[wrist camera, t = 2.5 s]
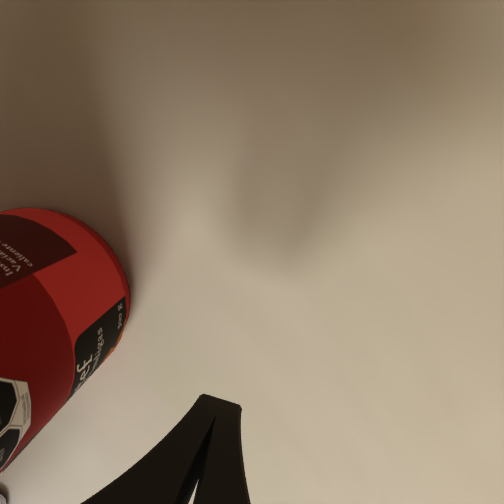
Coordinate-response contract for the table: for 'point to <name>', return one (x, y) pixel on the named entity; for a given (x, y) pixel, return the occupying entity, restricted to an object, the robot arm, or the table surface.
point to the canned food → (52, 317)
